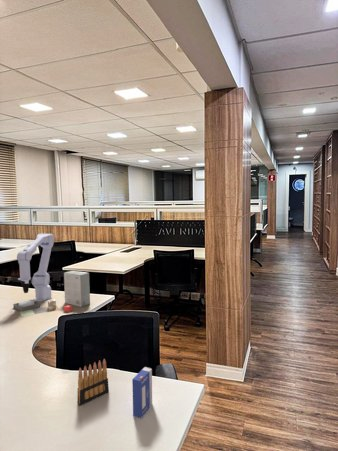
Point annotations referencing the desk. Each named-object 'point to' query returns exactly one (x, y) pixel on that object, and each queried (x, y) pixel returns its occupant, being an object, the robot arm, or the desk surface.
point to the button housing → (26, 306)
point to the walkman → (142, 392)
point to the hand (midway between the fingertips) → (26, 292)
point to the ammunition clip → (92, 383)
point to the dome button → (26, 303)
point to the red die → (67, 308)
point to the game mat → (37, 311)
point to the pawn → (51, 304)
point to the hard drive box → (77, 288)
